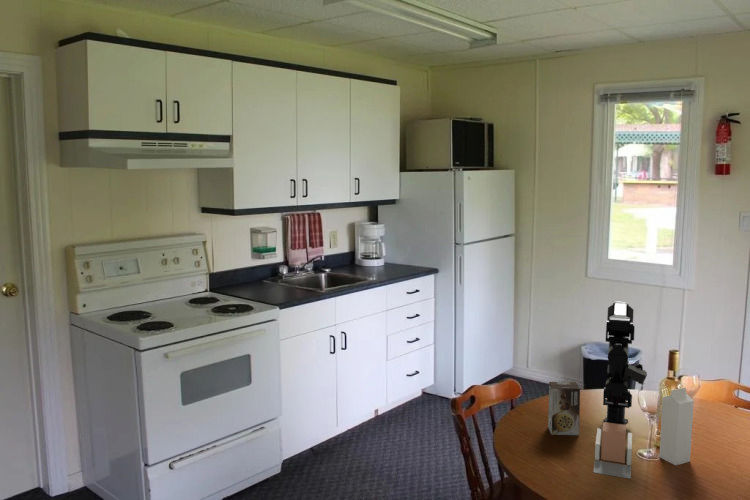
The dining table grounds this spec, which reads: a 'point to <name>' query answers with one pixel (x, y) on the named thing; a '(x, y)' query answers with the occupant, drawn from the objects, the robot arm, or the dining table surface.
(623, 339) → the robot arm
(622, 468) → the chute
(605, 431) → the block
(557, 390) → the coffee box
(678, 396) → the milk
